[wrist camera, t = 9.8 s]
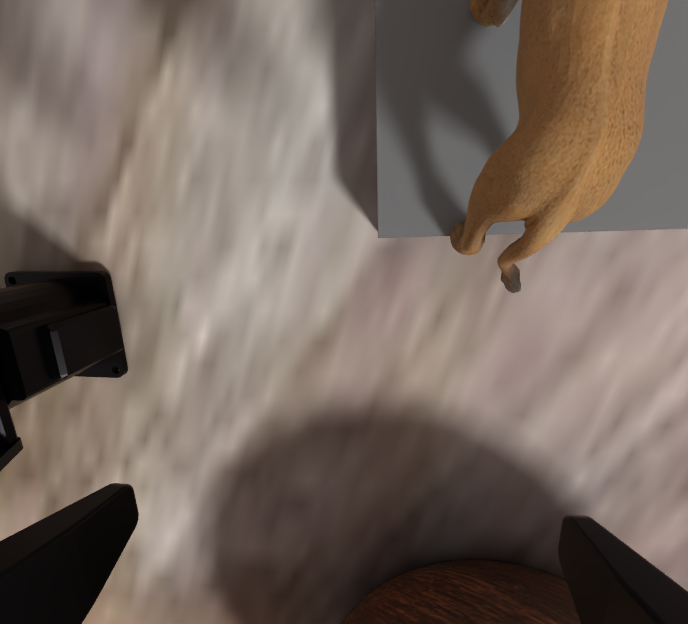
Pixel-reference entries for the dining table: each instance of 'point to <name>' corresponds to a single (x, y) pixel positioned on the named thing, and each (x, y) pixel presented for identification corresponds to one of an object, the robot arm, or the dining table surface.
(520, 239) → the lion figurine
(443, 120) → the grey block
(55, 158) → the dining table surface
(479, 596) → the wooden bowl
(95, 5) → the dining table surface
